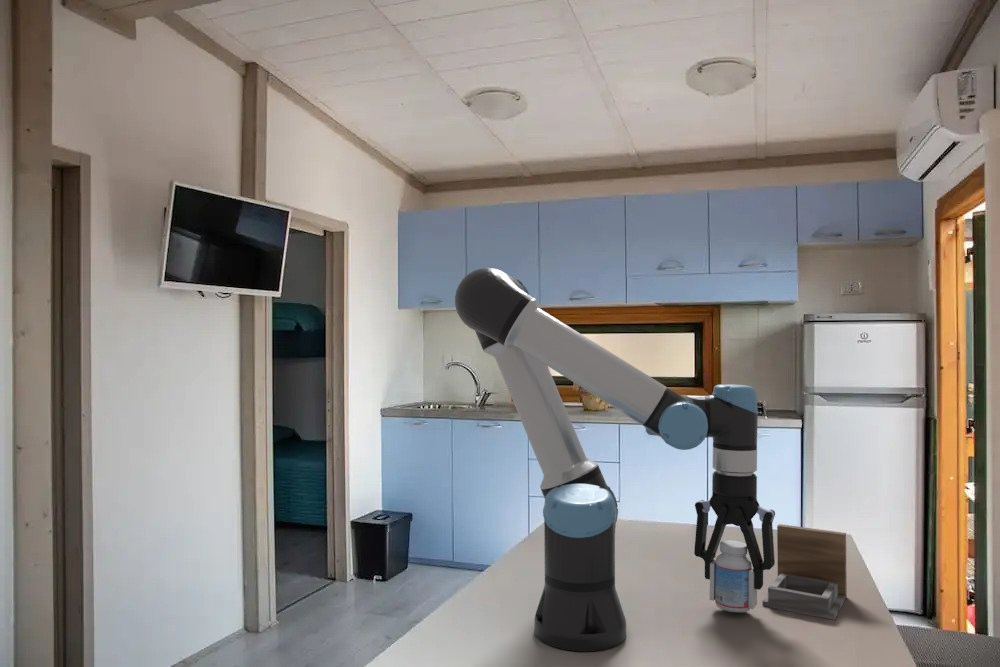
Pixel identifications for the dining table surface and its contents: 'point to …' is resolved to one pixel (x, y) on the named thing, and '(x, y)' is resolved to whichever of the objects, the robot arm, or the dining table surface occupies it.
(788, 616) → the dining table surface
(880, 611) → the dining table surface
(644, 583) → the dining table surface
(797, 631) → the dining table surface
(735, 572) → the pill bottle
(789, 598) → the cup bracket
